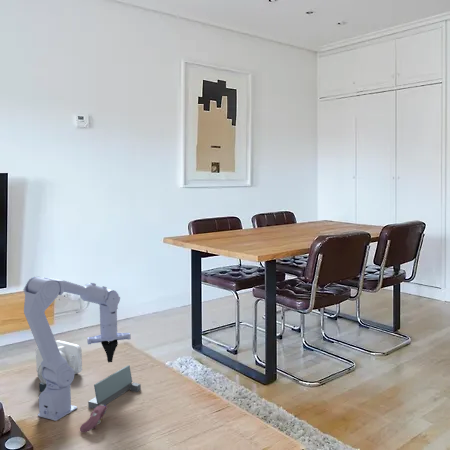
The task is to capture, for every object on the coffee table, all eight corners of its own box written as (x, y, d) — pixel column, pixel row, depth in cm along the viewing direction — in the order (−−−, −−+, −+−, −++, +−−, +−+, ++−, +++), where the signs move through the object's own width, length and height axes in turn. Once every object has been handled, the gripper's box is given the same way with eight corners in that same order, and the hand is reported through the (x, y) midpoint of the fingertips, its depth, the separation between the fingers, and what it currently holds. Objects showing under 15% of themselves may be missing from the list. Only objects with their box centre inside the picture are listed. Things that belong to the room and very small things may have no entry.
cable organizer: (34, 376, 185) (33, 346, 184) (57, 366, 194) (56, 338, 193) (61, 384, 178) (60, 353, 176) (84, 374, 187) (83, 344, 185)
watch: (64, 389, 173) (63, 359, 172) (44, 397, 167) (43, 366, 166) (54, 385, 176) (53, 355, 175) (34, 393, 170) (33, 362, 169)
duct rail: (107, 412, 156) (107, 405, 156) (88, 407, 159) (88, 400, 159) (140, 390, 172) (140, 383, 172) (122, 386, 175) (122, 380, 175)
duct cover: (95, 384, 157) (93, 384, 157) (98, 403, 157) (97, 403, 158) (129, 365, 173) (127, 365, 174) (132, 381, 173) (130, 381, 174)
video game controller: (91, 439, 143) (101, 419, 142) (77, 431, 143) (87, 411, 142) (103, 422, 153) (112, 403, 152) (90, 415, 153) (99, 396, 152)
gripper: (88, 329, 164) (89, 368, 165) (131, 324, 169) (132, 362, 170) (86, 323, 170) (87, 361, 171) (128, 318, 175) (129, 355, 177)
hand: (109, 361), depth 171 cm, fingers closed
